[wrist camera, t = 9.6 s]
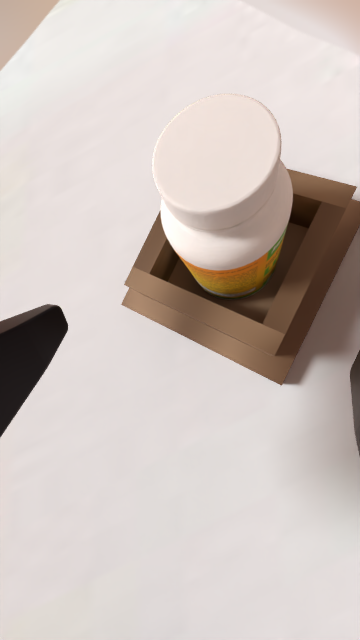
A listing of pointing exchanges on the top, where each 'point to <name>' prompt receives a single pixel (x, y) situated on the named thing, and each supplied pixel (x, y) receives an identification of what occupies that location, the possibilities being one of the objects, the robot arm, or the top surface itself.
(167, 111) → the top surface
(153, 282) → the bottle holder
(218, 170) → the supplement bottle
